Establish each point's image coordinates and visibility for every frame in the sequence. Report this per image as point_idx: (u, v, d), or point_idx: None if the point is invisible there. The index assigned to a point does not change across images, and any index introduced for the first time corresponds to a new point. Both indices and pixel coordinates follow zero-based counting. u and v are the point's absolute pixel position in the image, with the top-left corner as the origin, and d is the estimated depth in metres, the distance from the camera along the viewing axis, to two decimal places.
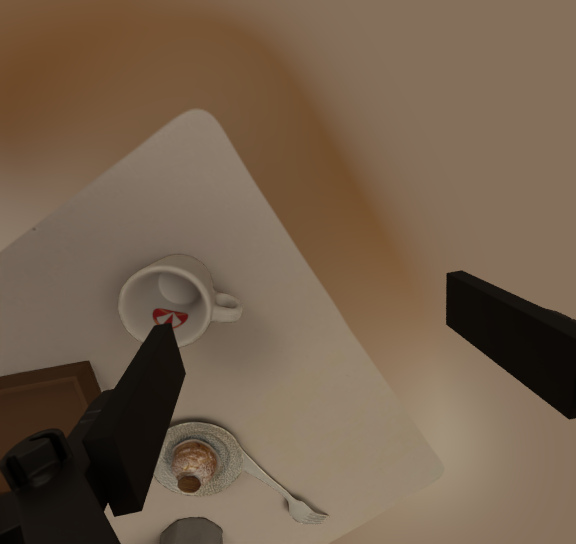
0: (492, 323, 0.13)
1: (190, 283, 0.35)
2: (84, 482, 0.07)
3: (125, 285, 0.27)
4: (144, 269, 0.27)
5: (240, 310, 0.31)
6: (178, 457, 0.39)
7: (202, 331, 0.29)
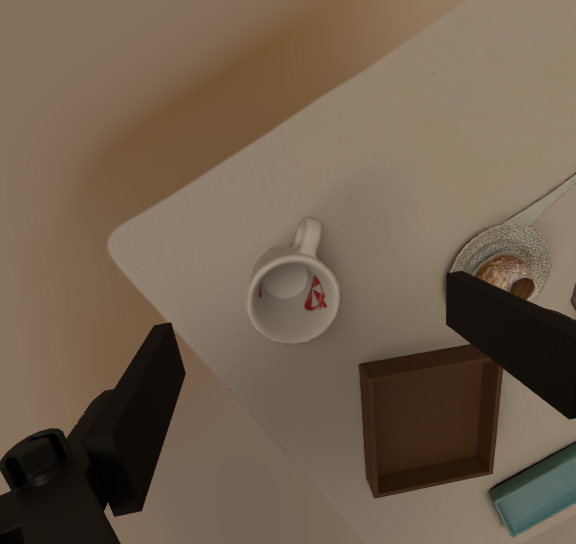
0: (492, 323, 0.13)
1: (285, 267, 0.33)
2: (84, 482, 0.07)
3: (265, 335, 0.27)
4: (249, 317, 0.27)
5: (309, 221, 0.27)
6: None
7: (323, 267, 0.26)
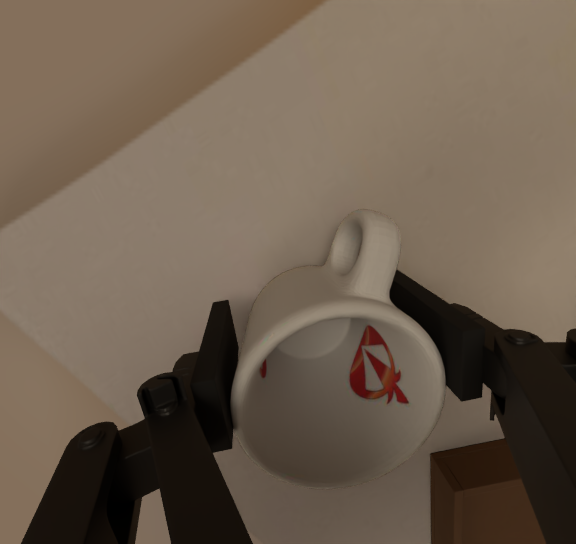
0: (413, 317, 0.14)
1: None
2: (196, 421, 0.08)
3: (277, 478, 0.12)
4: None
5: (370, 218, 0.12)
6: None
7: (412, 328, 0.11)
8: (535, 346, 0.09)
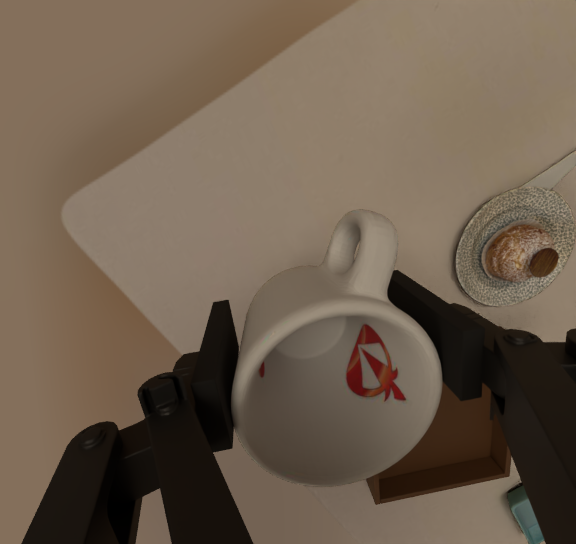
0: (413, 317, 0.14)
1: None
2: (196, 421, 0.08)
3: (277, 476, 0.12)
4: (240, 442, 0.12)
5: (368, 218, 0.12)
6: (501, 272, 0.30)
7: (410, 325, 0.11)
8: (535, 346, 0.09)
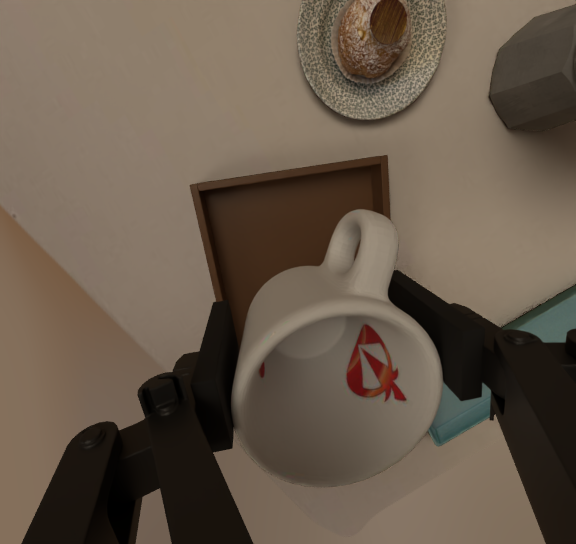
0: (413, 317, 0.14)
1: None
2: (196, 421, 0.08)
3: (277, 477, 0.12)
4: (240, 442, 0.12)
5: (368, 218, 0.12)
6: (350, 56, 0.24)
7: (411, 325, 0.11)
8: (534, 346, 0.09)
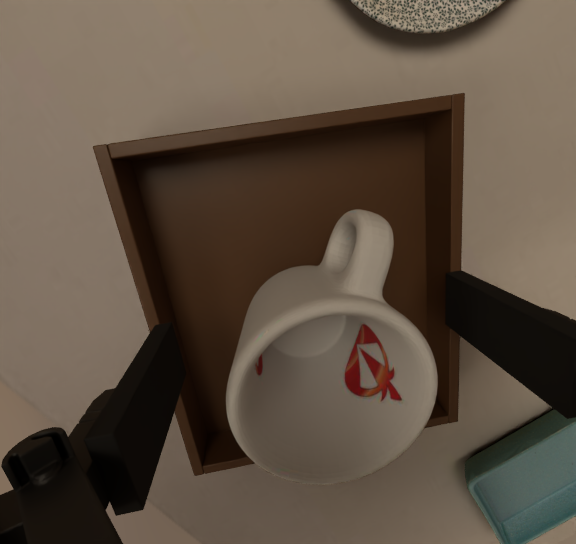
0: (491, 323, 0.13)
1: None
2: (86, 481, 0.07)
3: (272, 473, 0.12)
4: (235, 438, 0.12)
5: (364, 218, 0.12)
6: None
7: (404, 325, 0.11)
8: None
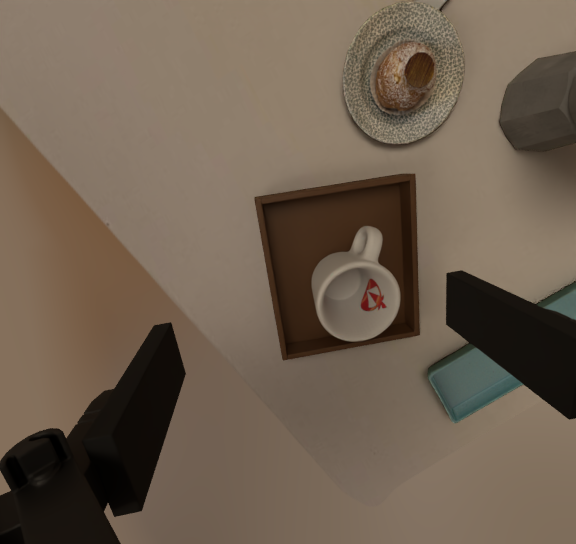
0: (492, 323, 0.13)
1: None
2: (84, 482, 0.07)
3: (332, 334, 0.30)
4: (319, 318, 0.30)
5: (370, 230, 0.30)
6: (386, 95, 0.30)
7: (386, 271, 0.29)
8: None
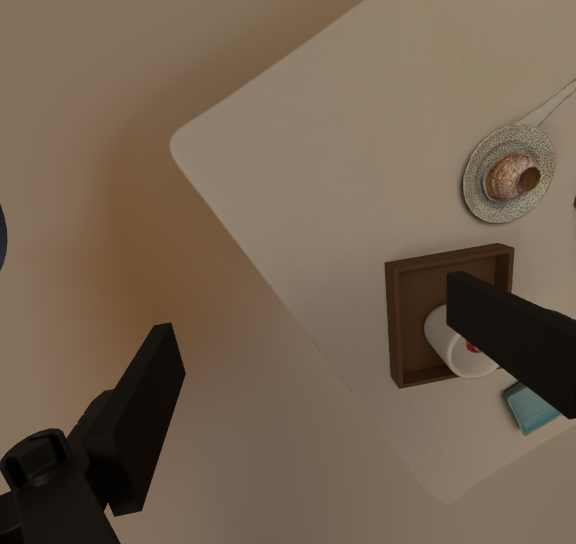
0: (492, 323, 0.13)
1: None
2: (84, 482, 0.07)
3: (457, 373, 0.40)
4: (448, 361, 0.39)
5: None
6: (498, 191, 0.40)
7: None
8: None
